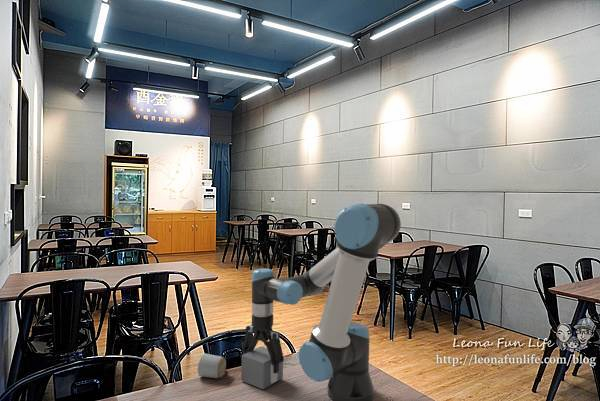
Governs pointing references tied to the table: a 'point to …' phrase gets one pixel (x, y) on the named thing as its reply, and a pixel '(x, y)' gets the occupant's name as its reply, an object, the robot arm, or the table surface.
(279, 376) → the grey cube
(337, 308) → the robot arm
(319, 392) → the table surface
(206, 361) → the ceramic mug
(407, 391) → the table surface
